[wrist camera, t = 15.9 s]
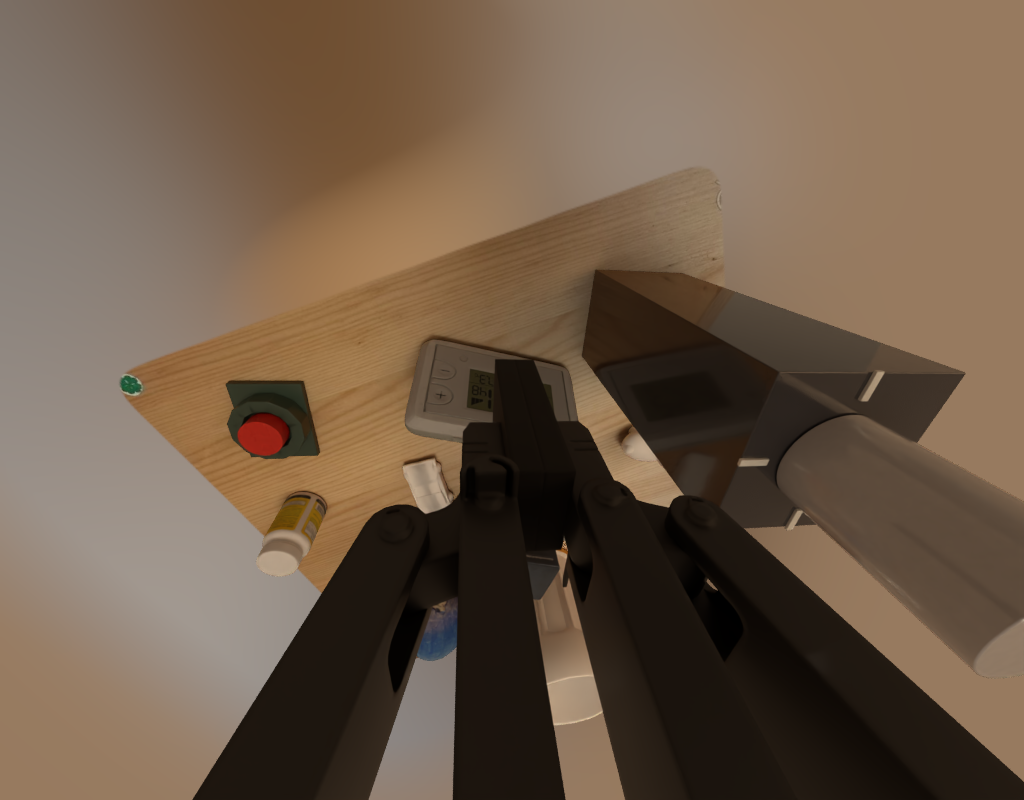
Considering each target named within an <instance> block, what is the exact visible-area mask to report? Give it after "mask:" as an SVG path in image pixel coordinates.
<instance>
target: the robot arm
mask: <svg viewBox="0 0 1024 800" xmlns="http://www.w3.org/2000/svg"><path fill="white" fill-rule="evenodd" d="M564 537H565V541H566V545H567V548H568V554H567V559H566V564H565V569H564V574H563V579H562V583H563V587H567V584H568V579H569V580H570V584H571V588H572V592H573V596H574V600H575V604H576V608H577V612H578V616H579V620H580V624H581V628H582V632H583V635H584V639H585V643H586V647H587V651H588V655H589V659H590V663H591V667H592V671H593V675H594V679H595V683H596V687H597V690H598V694H599V698H600V702H601V706H602V710H603V714H604V718H605V722H606V725H607V729H608V734H609V737H610V742H611V745H612V749H613V753H614V757H615V761H616V765H617V769H618V772H619V777H620V781H621V785H622V789H623V792H624V797H625V800H1024V782H1023V781H1022V780H1021V779H1020V778H1019V777H1018V776H1017V775H1016V774H1014V773H1013V772H1012V771H1011V770H1010V769H1009V768H1008V767H1007V766H1005V764H1003V763H1002V762H1001V761H1000V760H999V759H998V758H997V757H996V756H995V755H993V754H992V753H991V752H990V751H989V750H988V749H987V748H985V746H984V745H982V744H981V743H980V742H979V741H978V740H977V739H976V738H975V737H974V736H972V735H971V734H970V733H969V732H968V731H967V730H966V729H965V728H964V727H962V726H961V725H960V724H959V723H958V722H957V721H956V720H955V719H954V718H953V717H951V716H950V715H949V714H948V713H947V712H946V711H945V710H944V709H943V708H941V707H940V706H939V705H938V704H937V703H936V702H935V701H934V700H932V698H930V697H929V696H928V695H927V694H926V693H925V692H924V691H923V690H922V689H920V688H919V687H918V686H917V685H916V684H915V683H914V682H913V681H912V680H910V679H909V678H908V677H907V676H906V675H905V674H904V673H903V672H902V671H900V670H899V669H898V668H897V667H896V666H895V665H894V664H893V663H892V662H891V661H889V660H888V659H887V658H886V657H885V656H884V655H883V654H882V653H880V652H879V651H878V650H877V649H876V648H875V647H874V646H873V645H872V644H871V643H870V642H868V641H867V640H866V639H865V638H864V637H863V636H862V635H861V634H860V633H858V632H857V631H856V630H855V629H854V628H853V627H852V626H851V625H850V624H848V623H847V622H846V621H845V620H844V619H843V618H842V617H841V616H840V615H839V614H837V613H836V612H835V611H834V610H833V609H832V608H831V607H830V606H829V605H828V604H826V603H825V602H824V601H823V600H822V599H821V598H820V597H819V596H818V595H816V594H815V593H814V592H813V591H812V590H811V589H810V588H809V587H808V586H806V585H805V584H804V583H803V582H802V581H801V580H800V579H799V578H798V577H797V576H795V575H794V574H793V573H792V572H791V571H790V570H789V569H788V568H787V567H785V566H784V565H783V564H782V563H781V562H780V561H779V560H778V559H776V557H774V556H773V555H772V554H771V553H770V552H769V551H768V550H767V549H765V548H764V547H763V546H762V545H761V544H760V543H759V542H758V541H757V540H756V539H754V538H753V537H752V536H751V535H750V534H749V533H748V532H747V531H746V530H745V529H743V528H742V527H741V526H740V525H739V524H738V523H737V522H736V521H735V520H733V519H732V518H731V517H730V516H729V515H728V514H727V513H726V512H725V511H724V510H722V509H721V508H720V507H718V506H717V505H715V504H714V503H713V502H711V501H708V500H706V499H704V498H701V497H697V496H692V495H682V496H679V497H677V498H675V499H673V501H672V503H671V505H670V507H669V508H668V507H663V506H658V505H654V504H649V503H645V502H642V501H638V500H636V498H635V496H634V495H633V493H632V492H631V491H630V490H629V488H627V487H626V486H624V485H623V484H621V483H620V482H618V481H615V480H613V478H612V476H611V474H610V472H609V470H608V468H607V466H606V464H605V462H604V460H603V458H602V456H601V454H600V452H599V451H598V448H597V446H596V444H595V442H594V440H593V438H592V436H591V434H590V432H589V430H588V429H587V428H586V427H585V426H583V425H582V424H581V423H580V422H579V421H557V419H556V417H555V414H554V411H553V409H552V406H551V404H550V401H549V398H548V396H547V393H546V391H545V388H544V385H543V383H542V380H541V377H540V375H539V372H538V370H537V367H536V364H535V362H534V360H520V359H495V373H494V397H493V422H470V423H469V424H468V425H467V427H466V428H465V429H464V431H463V443H462V468H461V471H460V493H459V495H458V497H457V498H456V499H455V500H454V501H453V502H452V503H451V504H449V505H448V506H446V507H445V508H442V509H440V510H437V511H434V512H430V513H427V514H425V513H424V512H423V511H421V510H420V509H419V508H417V507H414V506H411V505H393V506H390V507H386V508H384V509H382V510H380V511H378V512H377V513H375V514H374V515H373V516H372V517H371V518H370V519H369V520H368V521H367V522H366V524H365V525H364V527H363V529H362V530H361V532H360V533H359V535H358V537H357V538H356V540H355V541H354V543H353V545H352V546H351V548H350V549H349V551H348V552H347V554H346V556H345V557H344V559H343V560H342V562H341V564H340V565H339V567H338V568H337V570H336V572H335V573H334V575H333V576H332V578H331V580H330V581H329V583H328V584H327V586H326V588H325V589H324V591H323V592H322V594H321V596H320V597H319V599H318V600H317V602H316V604H315V605H314V607H313V608H312V610H311V611H310V613H309V615H308V616H307V618H306V620H305V621H304V623H303V624H302V626H301V628H300V629H299V631H298V632H297V634H296V636H295V637H294V639H293V640H292V642H291V643H290V645H289V647H288V648H287V650H286V651H285V653H284V655H283V656H282V658H281V659H280V661H279V662H278V664H277V666H276V667H275V669H274V671H273V672H272V674H271V675H270V677H269V679H268V680H267V682H266V683H265V685H264V686H263V688H262V690H261V691H260V693H259V694H258V696H257V698H256V700H255V701H254V702H253V704H252V706H251V707H250V709H249V710H248V712H247V714H246V715H245V717H244V718H243V720H242V721H241V723H240V725H239V726H238V728H237V729H236V731H235V733H234V734H233V736H232V737H231V739H230V741H229V742H228V744H227V745H226V747H225V749H224V750H223V752H222V753H221V755H220V757H219V758H218V760H217V761H216V763H215V765H214V766H213V768H212V769H211V771H210V772H209V774H208V776H207V777H206V779H205V780H204V782H203V784H202V785H201V787H200V788H199V790H198V792H197V793H196V795H195V797H194V798H193V800H368V799H369V796H370V793H371V790H372V787H373V784H374V781H375V778H376V775H377V772H378V770H379V767H380V763H381V761H382V757H383V754H384V751H385V749H386V746H387V743H388V740H389V736H390V734H391V731H392V728H393V725H394V722H395V719H396V716H397V712H398V710H399V707H400V704H401V701H402V697H403V695H404V692H405V689H406V686H407V683H408V680H409V677H410V674H411V671H412V668H413V665H414V662H415V659H416V656H417V653H418V650H419V647H420V644H421V641H422V638H423V635H424V632H425V629H426V626H427V623H428V620H429V617H430V614H431V611H432V608H433V606H435V605H437V604H440V603H443V602H445V601H448V600H450V599H453V598H455V597H458V612H457V652H456V692H455V732H454V733H455V734H454V772H453V800H565V793H564V788H563V781H562V776H561V769H560V762H559V756H558V750H557V743H556V737H555V731H554V725H553V718H552V712H551V706H550V700H549V693H548V687H547V681H546V675H545V669H544V662H543V656H542V650H541V644H540V637H539V631H538V625H537V619H536V612H535V606H534V600H533V594H532V587H531V581H530V575H529V569H528V562H527V556H526V551H547V550H562V545H563V539H564ZM707 579H709V580H710V581H711V582H712V583H713V585H714V586H715V587H716V588H717V589H718V591H717V590H715V589H713V588H712V587H711V586H710V585H709V584H708V583H707V582H706V581H707Z"/></svg>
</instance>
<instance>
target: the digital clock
mask: <svg viewBox="0 0 1024 800" xmlns="http://www.w3.org/2000/svg"><path fill="white" fill-rule="evenodd" d="M495 359H520V360H530V359H526V358H521V357H517V356H512V355H507V354H503V353H498V352H494V351H489V350H484V349H480V348H475V347H471V346H466V345H461V344H457V343H452V342H447V341H442V340H430V341H428V342H425V343H424V344H423V345H422V346H421V349H420V353H419V357H418V361H417V365H416V370H415V374H414V378H413V383H412V387H411V391H410V396H409V400H408V404H407V409H406V414H405V426H406V428H407V429H408V431H410V432H411V433H413V434H416V435H419V436H424V437H430V438H435V439H441V440H447V441H453V442H459V443H463V431H464V429H465V428H466V427H467V425H468V424H469V423H470V422H493V397H494V373H495ZM534 362H535V364H536V367H537V370H538V372H539V375H540V377H541V380H542V383H543V385H544V388H545V391H546V393H547V396H548V398H549V401H550V404H551V406H552V409H553V411H554V414H555V417H556V419H557V421H578V416H577V411H576V405H575V399H574V393H573V387H572V381H571V377H570V374H569V372H568V371H567V369H565V368H564V367H561V366H557V365H553V364H548V363H544V362H540V361H535V360H534Z"/></svg>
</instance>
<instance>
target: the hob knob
mask: <svg viewBox="0 0 1024 800" xmlns="http://www.w3.org/2000/svg"><path fill="white" fill-rule="evenodd" d="M776 479H777V484H778V487H779V489H780V491H781V492H782V493H783V494H784V495H785V496H786V497H787V498H789V499H790V500H791V501H792V502H793V503H794V504H795V505H796V506H797V507H798V508H799V509H800V510H801V511H803V512H804V513H805V514H806V515H807V516H808V517H809V518H810V519H811V520H812V521H813V522H814V523H815V524H816V525H818V526H819V527H820V528H821V529H822V530H823V531H824V532H825V533H826V534H827V535H828V536H829V537H830V538H831V539H833V540H834V541H835V542H836V543H837V544H838V545H839V546H840V547H841V548H842V549H843V550H844V551H845V552H846V553H848V554H849V555H850V556H851V557H852V558H853V559H854V560H855V561H856V562H857V563H858V564H859V565H861V566H862V567H863V568H864V569H865V570H866V571H867V572H868V573H869V574H870V575H871V576H872V577H873V578H874V579H875V580H877V581H878V582H879V583H880V584H881V585H882V586H883V587H884V588H885V589H886V590H887V591H888V592H889V593H891V594H892V595H893V596H894V597H895V598H896V599H897V600H898V601H899V602H900V603H902V605H903V606H904V607H906V608H907V609H908V610H909V611H910V612H911V613H912V614H913V615H914V616H915V617H916V618H917V619H919V621H921V622H922V623H923V624H924V625H925V626H926V627H927V628H928V629H929V630H930V631H931V632H932V633H934V634H935V635H936V636H937V637H938V638H939V639H940V640H941V641H942V642H943V643H944V644H945V645H946V646H947V647H948V648H950V649H951V650H952V651H953V652H954V653H955V654H956V655H957V656H958V657H959V658H960V659H961V660H962V661H963V662H965V663H966V664H967V665H968V666H969V667H970V668H971V669H972V670H973V671H974V672H975V673H976V674H978V675H980V676H983V677H986V678H1007V677H1015V676H1020V675H1024V501H1022V500H1020V499H1019V498H1017V497H1015V496H1013V495H1011V494H1009V493H1008V492H1006V491H1004V490H1002V489H1000V488H998V487H997V486H995V485H993V484H991V483H989V482H987V481H986V480H984V479H982V478H980V477H978V476H976V475H975V474H973V473H971V472H969V471H967V470H965V469H964V468H961V467H960V466H958V465H956V464H954V463H953V462H951V461H949V460H947V459H945V458H943V457H942V456H940V455H938V454H936V453H934V452H932V451H931V450H929V449H927V448H925V447H923V446H921V445H919V444H918V443H916V442H914V441H912V440H910V439H909V438H907V437H905V436H903V435H901V434H899V433H898V432H896V431H894V430H892V429H890V428H888V427H887V426H885V425H883V424H881V423H879V422H877V421H875V420H874V419H872V418H870V417H867V416H862V415H847V416H841V417H837V418H834V419H831V420H828V421H826V422H824V423H822V424H820V425H818V426H816V427H814V428H813V429H811V430H810V431H808V432H807V433H805V434H804V435H803V436H801V437H800V438H799V439H798V440H797V441H796V442H795V443H794V444H793V445H792V446H791V447H790V448H789V450H788V451H787V452H786V453H785V455H784V457H783V458H782V460H781V462H780V464H779V467H778V470H777V477H776Z"/></svg>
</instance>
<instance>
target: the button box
mask: <svg viewBox="0 0 1024 800" xmlns="http://www.w3.org/2000/svg"><path fill="white" fill-rule="evenodd" d="M226 387H227V390H228V392H229V395H230V398H231V401H232V404H233V407H234V409H233V410H232V412H231V415H230V417H229V420H228V423H227V425H228V428H229V431H230V433H231V436H232V439H233V440H234V441H235V442H236V443H237V444H238V445H239V446H240V447H242V448H243V449H244V450H245V451H246V452H248V453H250V455H251V457H262V458H264V459H284V458H287V457H289V456H317V455H318V454H319V453H320V451H319V446H318V442H317V438H316V434H315V430H314V425H313V421H312V417H311V413H310V409H309V404H308V400H307V396H306V392H305V387H304V383H303V381H229V382H227V383H226ZM258 413H269V414H273V415H275V416H278V417H279V418H281V419H282V420H283V421H284V422H285V423H286V424H287V426H288V428H289V431H290V435H289V438H288V440H287V441H286V442H285V444H284V445H283V447H282V448H281V449H280V450H279V451H278V452H277V453H275V454H272V455H267V456H263V455H257V454H254V453H251V452H249V451H248V450H246V449H245V448H244V447H243V446H242V445H241V444H240V442H239V440H238V430H239V429H240V427H241V426H242V425H243V424H244V423H245V422H246V421H247V420H248V419H249V418H250V417H251V416H253V415H255V414H258Z"/></svg>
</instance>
